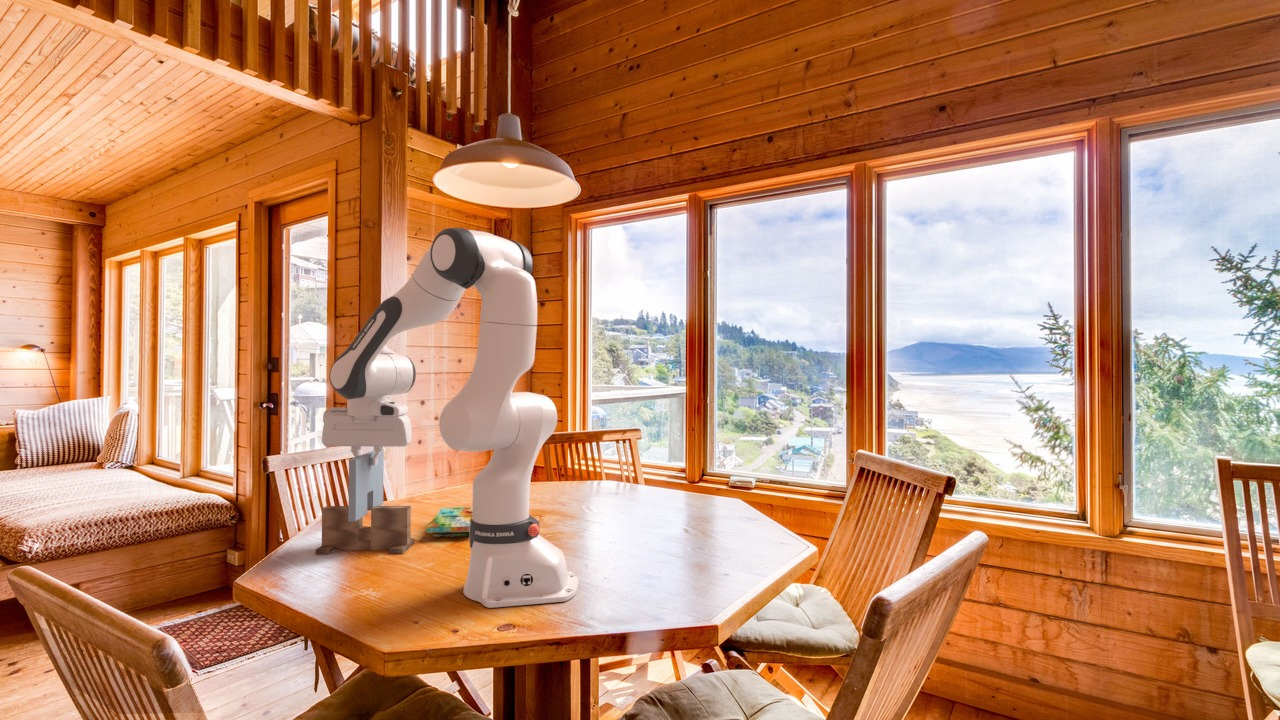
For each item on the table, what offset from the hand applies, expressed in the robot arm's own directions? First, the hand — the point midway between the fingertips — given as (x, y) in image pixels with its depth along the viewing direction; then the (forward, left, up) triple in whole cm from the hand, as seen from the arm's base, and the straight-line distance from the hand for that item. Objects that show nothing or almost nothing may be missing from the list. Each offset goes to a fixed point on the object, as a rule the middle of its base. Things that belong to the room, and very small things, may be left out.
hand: (367, 465), depth 143 cm
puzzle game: (-17, -16, -21) cm, 31 cm away
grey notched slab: (0, 0, -11) cm, 11 cm away
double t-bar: (0, 0, -20) cm, 20 cm away
